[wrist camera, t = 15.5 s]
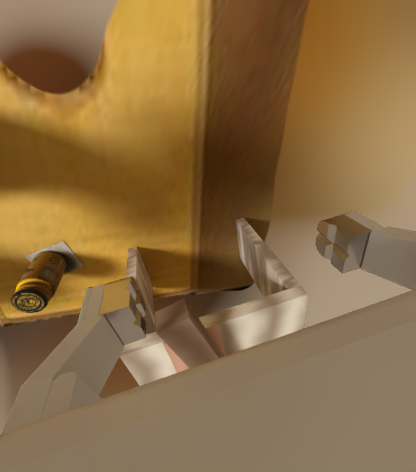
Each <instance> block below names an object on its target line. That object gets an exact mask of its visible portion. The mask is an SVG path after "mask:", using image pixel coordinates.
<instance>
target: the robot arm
mask: <svg viewBox="0 0 416 472" xmlns="http://www.w3.org/2000/svg"><path fill="white" fill-rule="evenodd" d="M317 230H318V231H319V232H320V233H319V235H318V236H317V238H316V246H317V250H318V251H319V253H320V254H321V255H322V256H323V257H324V258H328V259H330V260H331V264H332V265H333V266H334V267H335V268H337V269H338V270H339V271H340V272H341V273H346V272H349V271H352V270H356V269H359V268H361V269H362V270H365V271H367V272H370V273H372V274H375V275H377V276H379V277H382V278H384V279H387V280H389V281H392V282H395V283H397V284H399V285H402V286H404V287H407V288H409V289H412V291H409V292H407V293H404V294H401V295H398V296H395V297H392V298H389V299H387V300H384V301H381V302H378V303H375V304H372V305H370V306H367V307H364V308H361V309H358V310H355V311H353V312H350V313H347V314H344V315H341V316H338V317H336V318H333V319H330V320H327V321H325V322H321V323H319V324H316V325H313V326H310V327H307V328H304V329H301V330H298V331H296V332H293V333H290V334H287V335H284V336H281V337H278V338H276V339H273V340H270V341H267V342H264V343H261V344H258V345H255V346H253V347H250V348H247V349H244V350H241V351H238V352H235V353H233V354H230V355H227V356H224V357H221V358H218V359H216V360H213V361H210V362H207V363H204V364H201V365H198V366H196V367H193V368H190V369H187V370H184V371H181V372H178V373H176V374H173V375H170V376H167V377H164V378H161V379H158V380H156V381H153V382H150V383H147V384H144V385H141V386H138V387H136V388H133V389H130V390H127V391H124V392H121V393H119V394H116V395H113V396H110V397H107V398H104V399H101V398H100V397H99V394H100V392H101V389H102V388H103V386H104V384H105V382H106V380H107V379H108V377H109V375H110V373H111V371H112V369H113V367H114V365H115V363H116V361H117V360H118V358H119V356H120V354H121V352H122V350H123V348H124V345H127V344H130V343H132V342H135V341H138V340H141V339H144V338H146V322H145V320H144V318H143V317H144V316H145V314H146V309H145V303H144V299H143V296H142V294H141V291H139V290H137V283H136V281H135V279H134V277H132V276H131V277H128V278H124V279H120V280H117V281H113V282H109V283H107V284H102V285H99V286H95V287H93V288H92V289H91V293H90V297H89V300H88V304H87V308H86V312H85V316H84V320H83V321H81V322H79V323H78V324H77V325H76V326H75V327H74V328H73V330H72V331H71V332H70V333H69V334H68V335H67V336H66V337H65V338H64V340H63V341H62V342H61V343H60V344H59V345H58V346H57V347H56V348H55V349H54V351H53V352H52V353H51V354H50V355H49V356H48V357H47V358H46V359H45V361H44V362H43V363H42V364H41V365H40V366H39V367H38V368H37V369H36V371H35V372H34V373H33V374H32V375H31V376H30V377H29V378H28V380H27V381H26V382H25V383H24V384H23V385H22V386H21V388H20V390H19V393H18V395H17V398H16V400H15V402H14V405H13V407H12V410H11V412H10V415H9V417H8V419H7V422H6V424H5V427H4V429H3V432H2V434H1V435H0V472H416V231H410V230H404V229H399V228H393V227H386V228H385V227H383V226H381V225H379V224H377V223H376V222H374V221H372V220H370V219H368V218H366V217H364V216H363V215H361V214H359V213H357V212H353V211H351V212H347V213H344V214H341V215H339V216H336V217H333V218H329V219H326V220H322V221H320V222H319V224H318V227H317Z"/></svg>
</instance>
